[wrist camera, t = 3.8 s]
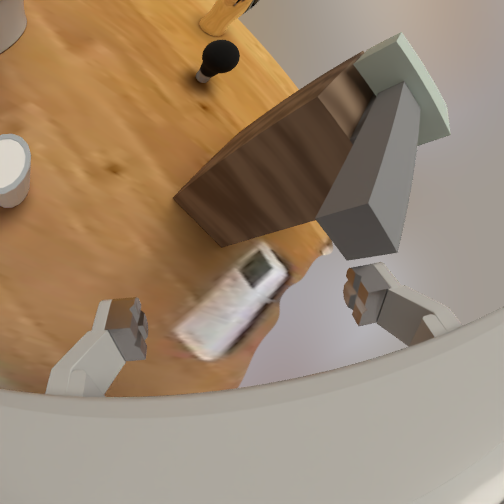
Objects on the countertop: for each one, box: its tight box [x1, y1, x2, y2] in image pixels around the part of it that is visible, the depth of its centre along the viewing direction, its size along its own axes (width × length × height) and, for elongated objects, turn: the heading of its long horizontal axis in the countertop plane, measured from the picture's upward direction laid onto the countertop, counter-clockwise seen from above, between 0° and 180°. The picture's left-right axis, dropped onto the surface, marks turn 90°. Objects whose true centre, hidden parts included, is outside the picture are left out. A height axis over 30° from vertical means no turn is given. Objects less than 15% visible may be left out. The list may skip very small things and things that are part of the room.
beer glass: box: [199, 0, 259, 37], centre depth 42 cm, size 7×7×15 cm
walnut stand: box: [173, 51, 376, 247], centre depth 35 cm, size 18×10×27 cm, turn 144°
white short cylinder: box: [0, 134, 31, 208], centre depth 23 cm, size 7×7×7 cm
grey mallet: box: [315, 32, 450, 260], centre depth 19 cm, size 26×10×5 cm, turn 144°
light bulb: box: [196, 40, 240, 83], centre depth 40 cm, size 6×6×10 cm
